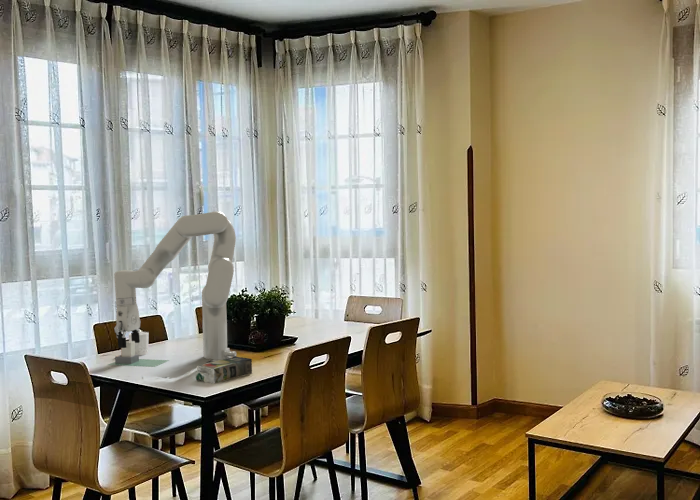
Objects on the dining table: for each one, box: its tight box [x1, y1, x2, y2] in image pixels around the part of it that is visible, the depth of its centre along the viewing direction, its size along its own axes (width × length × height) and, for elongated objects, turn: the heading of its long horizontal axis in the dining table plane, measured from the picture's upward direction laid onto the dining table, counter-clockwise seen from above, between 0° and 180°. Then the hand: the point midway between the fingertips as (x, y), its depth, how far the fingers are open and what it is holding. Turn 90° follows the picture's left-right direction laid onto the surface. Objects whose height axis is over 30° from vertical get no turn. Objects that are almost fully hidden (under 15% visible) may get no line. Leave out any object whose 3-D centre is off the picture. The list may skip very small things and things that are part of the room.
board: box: [107, 354, 170, 368], centre depth 273 cm, size 20×12×4 cm, turn 77°
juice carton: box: [195, 355, 253, 384], centre depth 254 cm, size 20×10×6 cm, turn 144°
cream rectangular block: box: [120, 340, 135, 357], centre depth 274 cm, size 4×3×8 cm
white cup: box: [128, 331, 150, 356], centre depth 290 cm, size 8×8×10 cm
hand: (129, 345), depth 274 cm, fingers open, 9 cm apart
